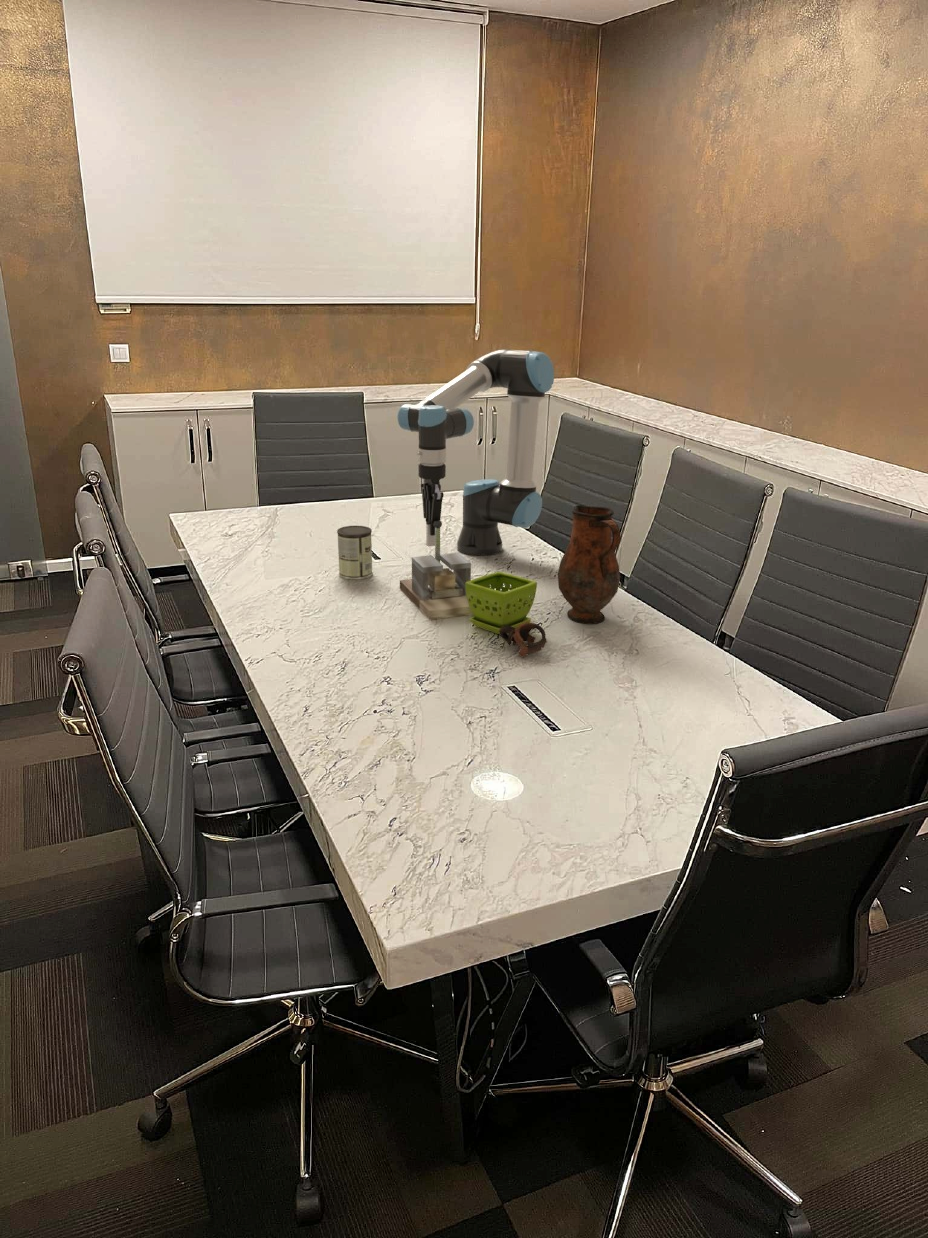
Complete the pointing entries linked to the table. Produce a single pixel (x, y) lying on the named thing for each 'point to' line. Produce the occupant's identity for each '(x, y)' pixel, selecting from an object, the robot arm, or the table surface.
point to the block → (441, 579)
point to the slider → (446, 592)
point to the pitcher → (590, 564)
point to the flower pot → (500, 600)
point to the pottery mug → (523, 637)
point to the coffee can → (355, 552)
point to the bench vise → (419, 586)
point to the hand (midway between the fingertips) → (431, 545)
